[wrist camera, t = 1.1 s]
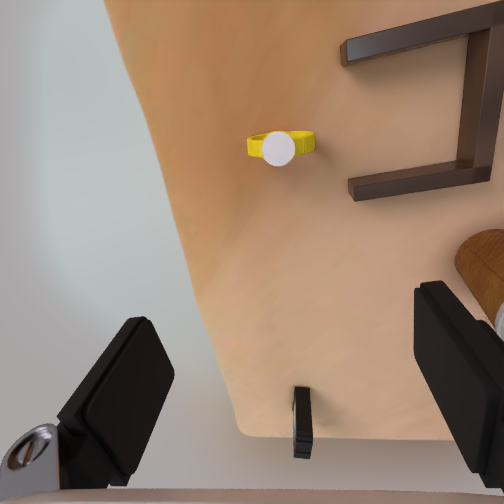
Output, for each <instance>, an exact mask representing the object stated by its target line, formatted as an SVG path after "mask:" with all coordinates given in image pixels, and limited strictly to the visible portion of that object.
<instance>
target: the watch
mask: <svg viewBox="0 0 504 504" xmlns="http://www.w3.org/2000/svg"><path fill="white" fill-rule="evenodd" d="M247 147H248V155H250V156H253V157H258V158H264V159H265V161H266V162H267V163H269V164H270V165H273V166H283V165H286V164H287V163H289V162H290V161H291V159H292V158H293V156H296V155H302V154H306V153H309V152H312V151H313V150H314V148H315V133H314V132H311V131H289V132H285V131H283V130H276V131H272V132H271V133H266V134H259V135H255V136H251V137H249V138H248V139H247Z"/></svg>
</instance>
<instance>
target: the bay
mask: <svg viewBox="0 0 504 504" xmlns="http://www.w3.org/2000/svg"><path fill="white" fill-rule="evenodd" d="M468 35H469V41H468V51H467V60H466V70H465V80H464V90H463V100H462V110H461V120H460V130H459V140H458V149H457V159H456V161H452V162H446V163H440V164H434V165H428V166H422V167H416V168H410V169H404V170H398V171H392V172H386V173H380V174H374V175H368V176H363V177H357V178H351V179H348V188H349V194H350V195H351V197H352V199H353V200H354V202H356V201H363V200H369V199H376V198H382V197H389V196H395V195H402V194H408V193H415V192H421V191H428V190H434V189H441V188H447V187H454V186H460V185H467V184H474V183H480V182H487V181H490V176H491V170H492V163H493V157H494V150H495V144H496V137H497V131H498V124H499V118H500V111H501V105H502V98H503V92H504V0H500V1H496V2H493V3H489V4H485V5H481V6H477V7H473V8H469V9H465V10H461V11H457V12H453V13H450V14H446V15H442V16H438V17H434V18H430V19H426V20H422V21H418V22H414V23H410V24H406V25H402V26H399V27H395V28H391V29H387V30H383V31H379V32H375V33H371V34H367V35H363V36H359V37H355V38H351V39H347V40H346V41H345V42H344V43H343V44H342V45H341V46H340V52H341V65H347V64H351V63H355V62H359V61H363V60H367V59H372V58H376V57H380V56H384V55H388V54H393V53H397V52H401V51H405V50H409V49H413V48H418V47H422V46H426V45H430V44H434V43H438V42H443V41H447V40H451V39H455V38H459V37H464V36H468Z"/></svg>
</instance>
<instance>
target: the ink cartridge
mask: <svg viewBox="0 0 504 504" xmlns="http://www.w3.org/2000/svg"><path fill="white" fill-rule="evenodd" d="M292 411H293V439H294V457H295V458H303V459H310V456H311V450H312V445H313V428H312V415H311V401H310V388H304V387H295V389H294V402H293V407H292Z"/></svg>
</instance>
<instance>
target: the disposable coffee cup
mask: <svg viewBox="0 0 504 504" xmlns="http://www.w3.org/2000/svg"><path fill="white" fill-rule="evenodd" d="M455 266H456V269H457V271H458V272H459V273H460V275H461V277H462V278H463V280H464V281H465V283H466V284H467V286H468V288H469V289H470V291H471V292H472V294H473V295H474V297H475V298H476V300H477V301H478V303H479V305H480V306H481V308H482V309H483V311H484V312H485V314H486V315H487V317H488V319H489V320H490V322H491V323H492V325H493V326H494V328H495V331H496V333H497V334H498V335H499V337H500V338H501V339H502V340H503V341H504V230H498V229H495V230H487V231H483V232H481V233H478V234H476V235H474V236H472V237H470V238H469V239H468V240H467V241H465V242H464V243H463V245H462V246H461V247H460V248H459V250H458V251H457V254H456V257H455Z"/></svg>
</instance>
